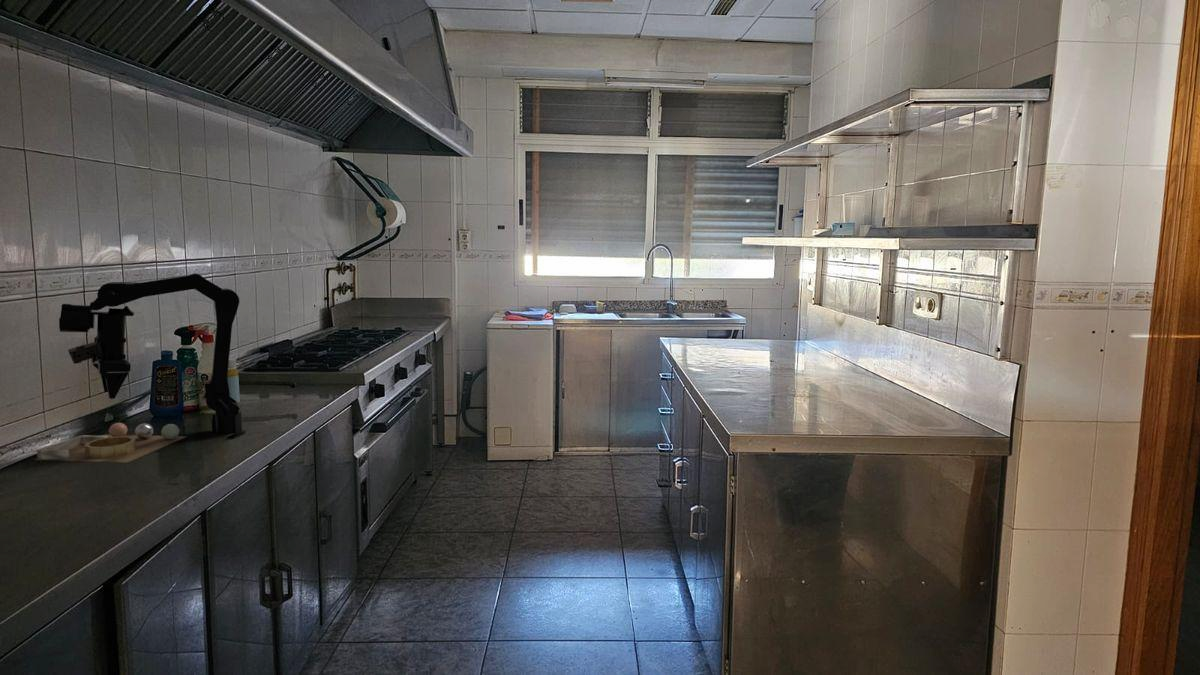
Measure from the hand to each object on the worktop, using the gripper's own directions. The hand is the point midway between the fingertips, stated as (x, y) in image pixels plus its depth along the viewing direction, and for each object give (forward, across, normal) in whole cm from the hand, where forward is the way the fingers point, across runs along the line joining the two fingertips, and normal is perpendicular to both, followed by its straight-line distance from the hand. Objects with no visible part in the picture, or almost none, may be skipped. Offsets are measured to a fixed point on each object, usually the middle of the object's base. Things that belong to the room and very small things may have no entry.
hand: (109, 395), depth 182 cm
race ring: (+12, +8, 0) cm, 15 cm away
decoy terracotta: (+10, -5, +3) cm, 12 cm away
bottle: (+11, -34, +36) cm, 50 cm away
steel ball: (+10, -1, +8) cm, 13 cm away
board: (+14, +4, +1) cm, 14 cm away
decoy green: (+9, +4, +13) cm, 16 cm away
